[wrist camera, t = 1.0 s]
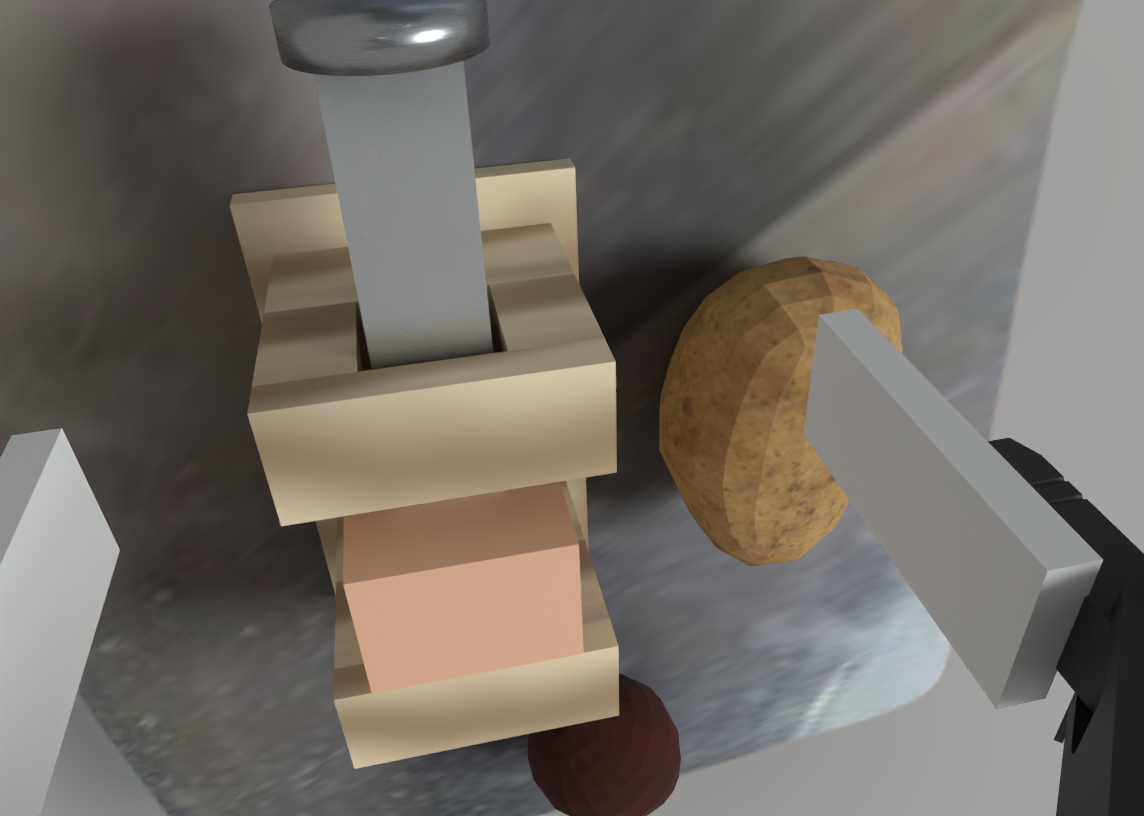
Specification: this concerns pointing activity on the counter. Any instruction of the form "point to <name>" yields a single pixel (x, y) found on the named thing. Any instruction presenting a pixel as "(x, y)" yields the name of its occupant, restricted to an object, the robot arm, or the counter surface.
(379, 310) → the shaft
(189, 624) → the counter surface
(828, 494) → the potato
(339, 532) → the bearing stand
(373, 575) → the spacer
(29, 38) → the counter surface
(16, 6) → the counter surface
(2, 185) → the counter surface
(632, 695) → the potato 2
